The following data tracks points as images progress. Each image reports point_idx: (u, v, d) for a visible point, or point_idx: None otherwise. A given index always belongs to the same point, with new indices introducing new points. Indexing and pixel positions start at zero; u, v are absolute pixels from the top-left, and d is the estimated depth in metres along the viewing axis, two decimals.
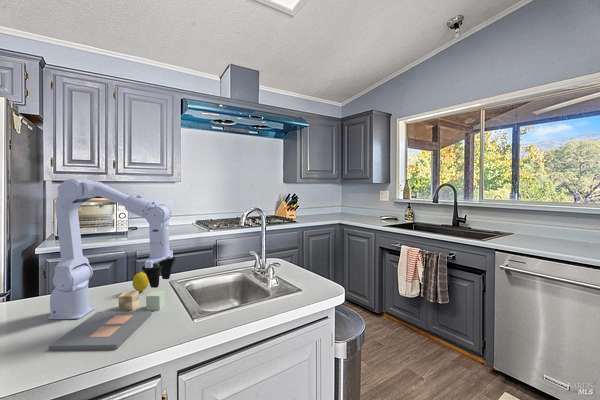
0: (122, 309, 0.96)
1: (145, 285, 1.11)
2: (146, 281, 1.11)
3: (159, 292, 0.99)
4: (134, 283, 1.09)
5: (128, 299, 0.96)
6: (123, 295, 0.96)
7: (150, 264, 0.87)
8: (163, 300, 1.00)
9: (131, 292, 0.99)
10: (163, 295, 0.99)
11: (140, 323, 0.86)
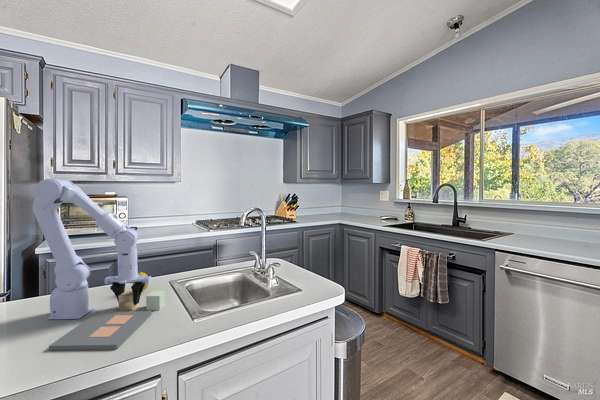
0: (122, 309, 0.96)
1: (145, 285, 1.11)
2: None
3: (159, 292, 0.99)
4: (134, 283, 1.09)
5: (128, 299, 0.96)
6: (123, 295, 0.96)
7: (105, 280, 0.97)
8: (163, 300, 1.00)
9: (131, 292, 0.99)
10: (163, 295, 0.99)
11: (140, 323, 0.86)
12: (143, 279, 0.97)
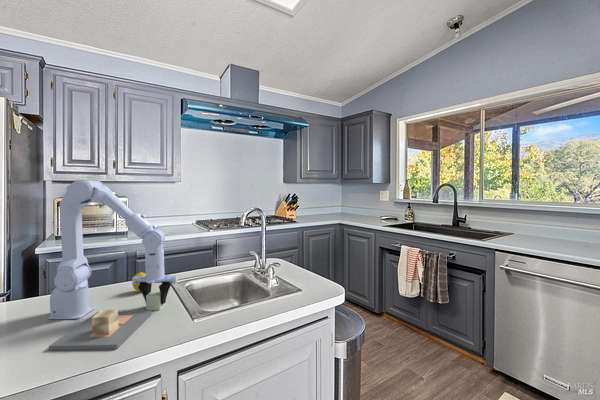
0: (96, 333, 0.79)
1: None
2: None
3: (159, 292, 0.99)
4: None
5: (103, 321, 0.78)
6: (98, 316, 0.79)
7: None
8: None
9: (108, 311, 0.81)
10: None
11: (140, 323, 0.86)
12: (170, 279, 0.97)
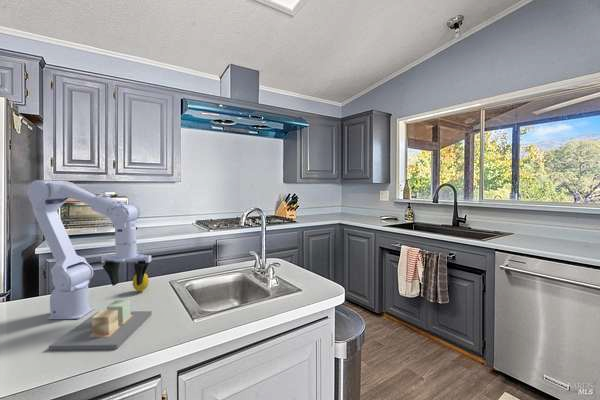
0: (96, 333, 0.79)
1: (145, 285, 1.11)
2: (146, 281, 1.11)
3: (123, 302, 0.88)
4: (134, 283, 1.09)
5: (103, 321, 0.78)
6: (98, 316, 0.79)
7: None
8: (128, 310, 0.89)
9: (108, 311, 0.81)
10: (128, 305, 0.88)
11: (140, 323, 0.86)
12: (142, 258, 0.90)
